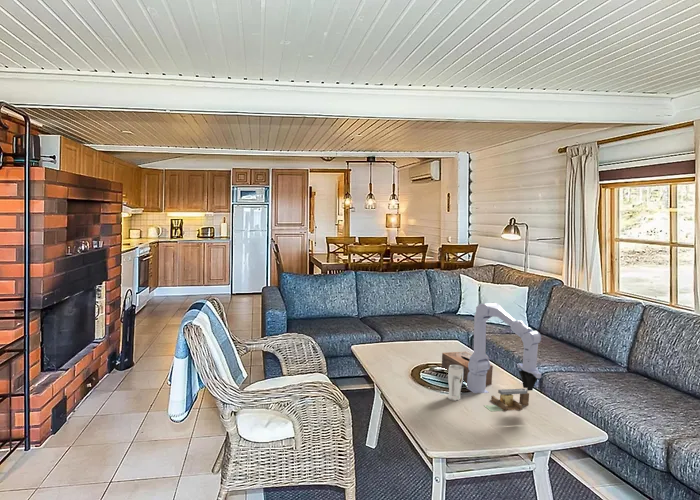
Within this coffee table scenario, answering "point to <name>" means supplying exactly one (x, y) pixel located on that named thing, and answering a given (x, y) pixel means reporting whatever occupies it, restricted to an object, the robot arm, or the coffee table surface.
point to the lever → (512, 391)
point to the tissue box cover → (462, 364)
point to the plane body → (516, 406)
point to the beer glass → (455, 382)
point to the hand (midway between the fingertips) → (527, 388)
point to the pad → (493, 408)
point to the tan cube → (507, 399)
